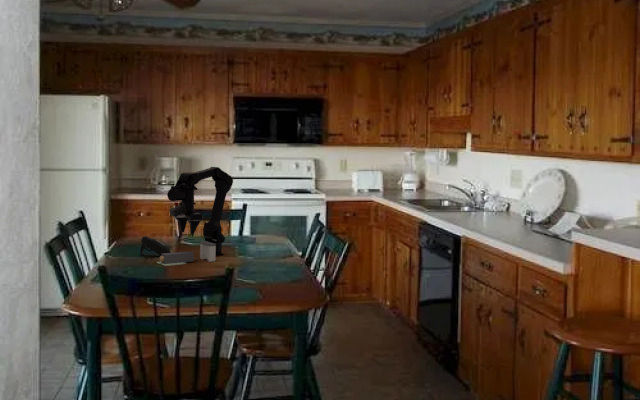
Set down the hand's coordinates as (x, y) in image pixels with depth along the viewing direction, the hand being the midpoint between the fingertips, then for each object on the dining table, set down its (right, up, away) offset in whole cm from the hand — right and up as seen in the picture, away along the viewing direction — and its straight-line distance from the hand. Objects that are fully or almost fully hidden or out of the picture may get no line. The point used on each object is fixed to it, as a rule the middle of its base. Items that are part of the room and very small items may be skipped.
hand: (187, 233), depth 325 cm
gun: (-16, -11, +6) cm, 21 cm away
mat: (-5, -13, -10) cm, 17 cm away
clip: (+9, -12, +1) cm, 15 cm away
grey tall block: (-3, -12, -8) cm, 15 cm away
